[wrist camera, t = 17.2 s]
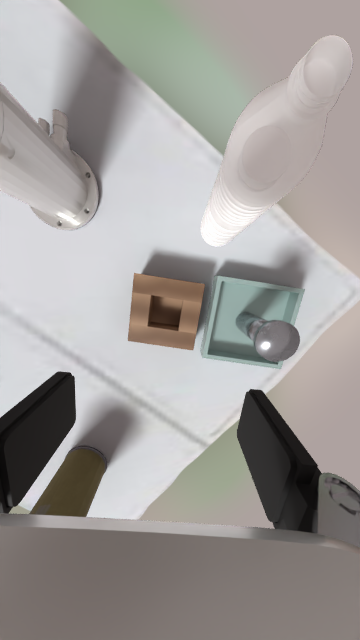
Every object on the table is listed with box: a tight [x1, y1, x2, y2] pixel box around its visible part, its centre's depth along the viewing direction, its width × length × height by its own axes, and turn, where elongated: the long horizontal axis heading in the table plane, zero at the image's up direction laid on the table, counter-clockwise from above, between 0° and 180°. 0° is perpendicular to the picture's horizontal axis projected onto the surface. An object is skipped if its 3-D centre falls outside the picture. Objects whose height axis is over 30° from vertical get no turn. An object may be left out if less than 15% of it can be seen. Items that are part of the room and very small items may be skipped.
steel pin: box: [236, 312, 300, 362], centre depth 29 cm, size 6×6×12 cm
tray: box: [200, 276, 305, 369], centre depth 34 cm, size 16×16×4 cm
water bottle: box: [201, 35, 353, 247], centre depth 20 cm, size 9×6×25 cm
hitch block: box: [128, 273, 205, 350], centre depth 33 cm, size 12×12×5 cm
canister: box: [30, 446, 107, 517], centre depth 34 cm, size 11×10×20 cm
